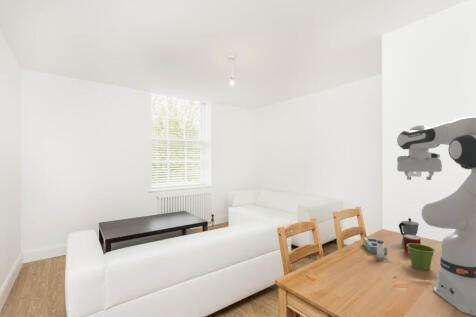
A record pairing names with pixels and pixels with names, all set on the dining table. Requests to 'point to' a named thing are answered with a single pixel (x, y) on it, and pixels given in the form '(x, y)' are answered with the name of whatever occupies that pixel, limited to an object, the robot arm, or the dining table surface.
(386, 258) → the deck
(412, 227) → the coffeepot
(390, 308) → the dining table surface
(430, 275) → the dining table surface
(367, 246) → the socket box
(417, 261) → the plant pot
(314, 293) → the dining table surface
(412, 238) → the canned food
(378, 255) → the plug
